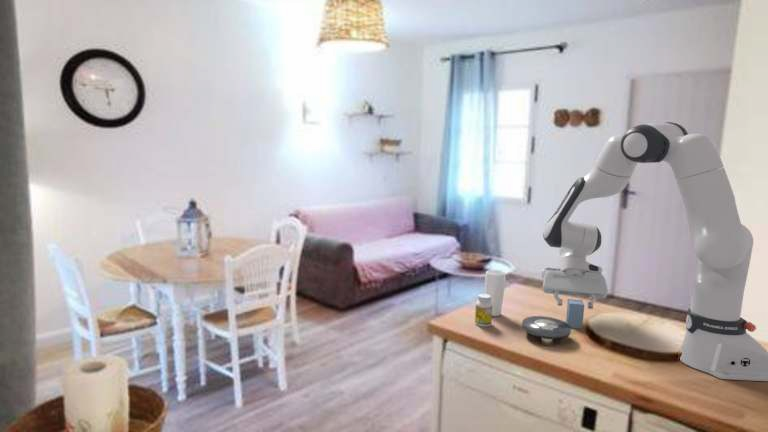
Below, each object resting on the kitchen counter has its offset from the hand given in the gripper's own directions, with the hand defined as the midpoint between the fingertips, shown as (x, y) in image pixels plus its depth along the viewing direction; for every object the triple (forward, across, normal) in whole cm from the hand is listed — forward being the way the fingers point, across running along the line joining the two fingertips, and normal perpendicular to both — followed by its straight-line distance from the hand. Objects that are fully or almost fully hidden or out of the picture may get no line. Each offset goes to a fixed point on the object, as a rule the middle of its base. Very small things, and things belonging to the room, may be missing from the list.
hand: (575, 306), depth 152 cm
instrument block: (+5, 0, +3) cm, 6 cm away
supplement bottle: (+11, -29, -2) cm, 31 cm away
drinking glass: (+4, -26, +5) cm, 27 cm away
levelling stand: (+14, -10, -6) cm, 19 cm away
